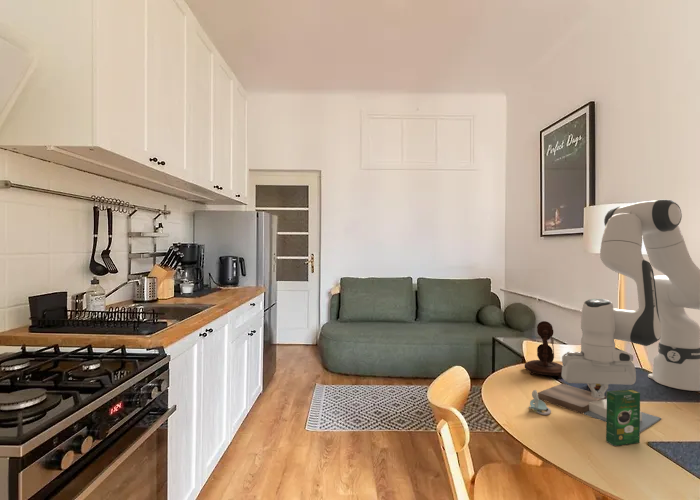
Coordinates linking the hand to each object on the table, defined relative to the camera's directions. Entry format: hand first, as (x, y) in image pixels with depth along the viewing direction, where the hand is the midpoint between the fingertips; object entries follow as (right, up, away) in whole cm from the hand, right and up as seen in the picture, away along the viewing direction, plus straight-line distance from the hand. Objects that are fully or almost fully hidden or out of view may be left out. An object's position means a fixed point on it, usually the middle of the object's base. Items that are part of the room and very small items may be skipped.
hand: (597, 397), depth 118 cm
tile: (+1, -3, -5) cm, 6 cm away
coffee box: (-7, -4, -20) cm, 21 cm away
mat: (+4, -4, -5) cm, 7 cm away
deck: (-4, -4, +6) cm, 9 cm away
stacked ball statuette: (+1, -4, +34) cm, 34 cm away
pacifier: (-18, -4, -1) cm, 19 cm away
